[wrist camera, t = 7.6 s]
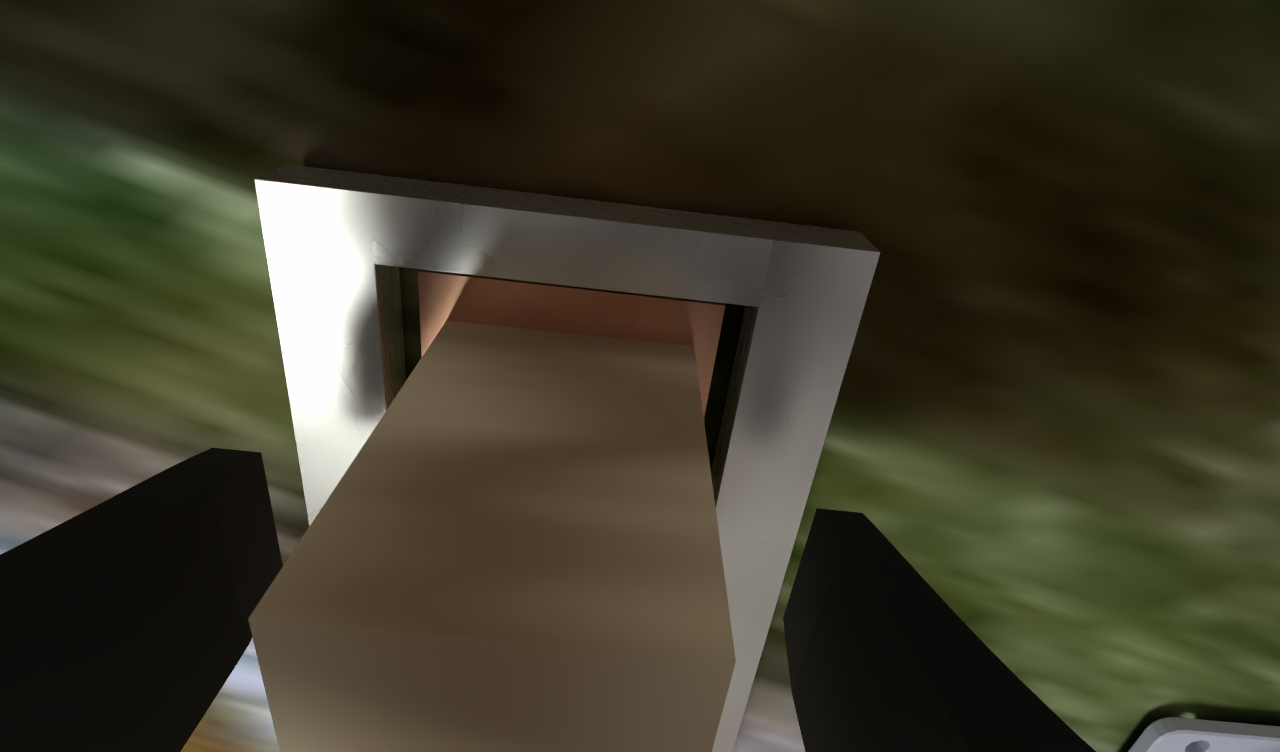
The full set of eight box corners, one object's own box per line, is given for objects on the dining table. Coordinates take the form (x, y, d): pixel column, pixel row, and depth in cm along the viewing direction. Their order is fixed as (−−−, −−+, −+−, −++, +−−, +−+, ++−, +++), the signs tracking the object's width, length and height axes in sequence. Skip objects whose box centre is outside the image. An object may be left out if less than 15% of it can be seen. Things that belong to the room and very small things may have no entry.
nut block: (694, 346, 11) (735, 660, 6) (662, 534, 13) (672, 901, 7) (446, 319, 11) (248, 618, 5) (452, 513, 13) (310, 874, 7)
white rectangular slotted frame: (860, 231, 10) (880, 252, 9) (673, 904, 20) (675, 945, 19) (289, 164, 10) (254, 179, 9) (385, 883, 19) (372, 924, 19)
